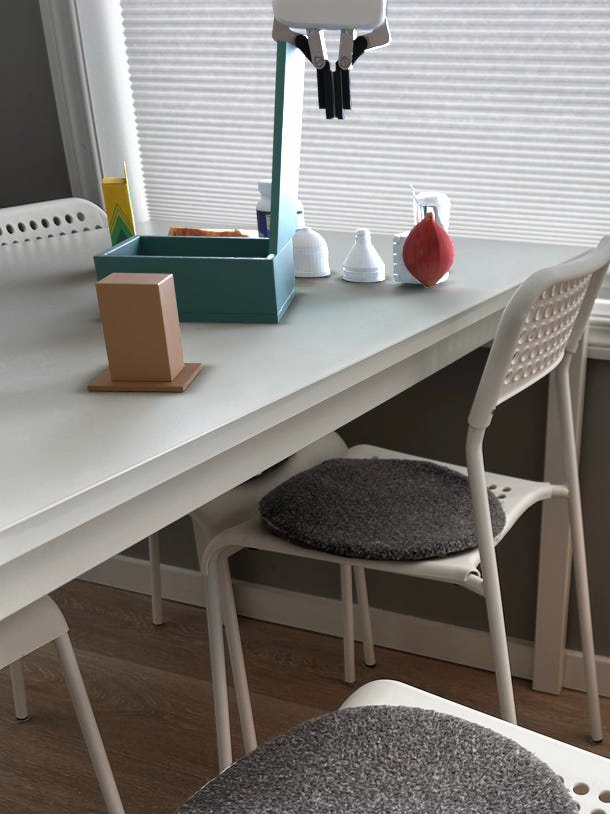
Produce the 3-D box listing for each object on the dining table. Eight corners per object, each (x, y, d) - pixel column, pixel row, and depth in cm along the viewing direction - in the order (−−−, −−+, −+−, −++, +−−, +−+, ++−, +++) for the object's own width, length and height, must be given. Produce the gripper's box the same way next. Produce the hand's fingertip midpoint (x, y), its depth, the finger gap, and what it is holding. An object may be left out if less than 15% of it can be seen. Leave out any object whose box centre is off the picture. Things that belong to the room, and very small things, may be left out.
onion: (393, 288, 107) (391, 211, 103) (420, 281, 112) (419, 207, 108) (437, 294, 105) (437, 215, 101) (462, 286, 110) (464, 211, 106)
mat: (87, 390, 70) (86, 385, 70) (114, 366, 76) (113, 361, 76) (183, 391, 71) (182, 386, 70) (202, 368, 77) (201, 362, 76)
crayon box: (115, 263, 119) (99, 160, 113) (140, 262, 120) (125, 160, 114) (115, 272, 113) (97, 164, 107) (141, 272, 114) (125, 164, 108)
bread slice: (168, 242, 135) (164, 214, 133) (296, 242, 138) (294, 214, 136) (155, 263, 120) (150, 231, 118) (298, 262, 123) (296, 231, 121)
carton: (111, 381, 71) (94, 283, 68) (127, 366, 75) (112, 272, 72) (171, 382, 71) (158, 284, 68) (185, 366, 75) (172, 273, 72)
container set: (448, 282, 114) (449, 232, 111) (432, 289, 109) (433, 237, 107) (299, 268, 119) (296, 221, 116) (279, 275, 115) (275, 225, 112)
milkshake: (401, 271, 119) (399, 183, 114) (434, 267, 123) (434, 182, 117) (422, 276, 116) (422, 186, 111) (456, 272, 120) (457, 185, 114)
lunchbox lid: (277, 39, 80) (286, 41, 80) (297, 46, 93) (305, 48, 93) (268, 253, 88) (277, 254, 89) (288, 233, 101) (295, 234, 101)
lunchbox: (103, 320, 91) (92, 256, 88) (142, 292, 103) (134, 234, 100) (278, 323, 92) (273, 259, 89) (296, 294, 104) (292, 238, 101)
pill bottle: (263, 264, 121) (255, 177, 116) (308, 264, 121) (303, 178, 116) (259, 271, 116) (251, 181, 111) (306, 272, 116) (300, 182, 111)
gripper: (412, -117, 84) (415, 119, 93) (242, -123, 83) (262, 116, 92) (411, -133, 78) (414, 122, 87) (226, -140, 77) (249, 118, 86)
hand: (335, 118), depth 90 cm, fingers closed
